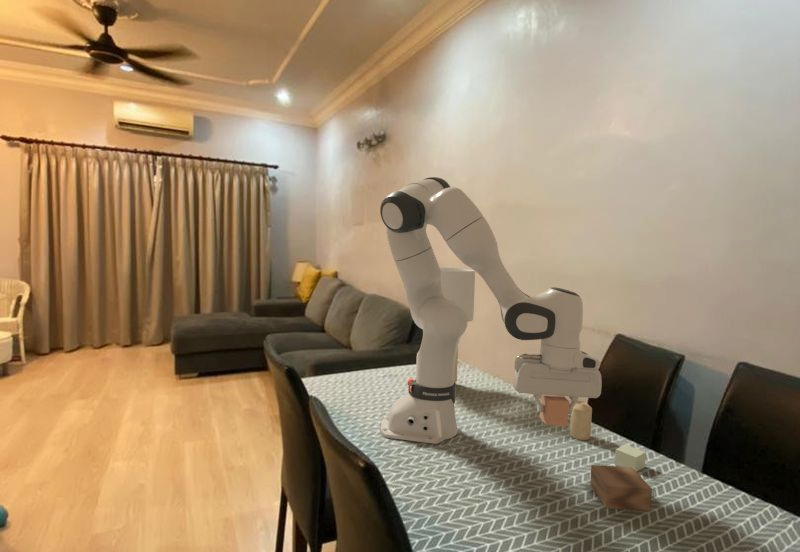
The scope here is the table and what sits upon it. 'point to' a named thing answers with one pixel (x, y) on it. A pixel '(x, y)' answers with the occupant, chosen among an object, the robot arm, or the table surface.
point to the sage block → (630, 457)
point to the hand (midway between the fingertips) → (554, 412)
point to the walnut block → (620, 488)
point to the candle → (581, 421)
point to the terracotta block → (555, 410)
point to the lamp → (459, 292)
